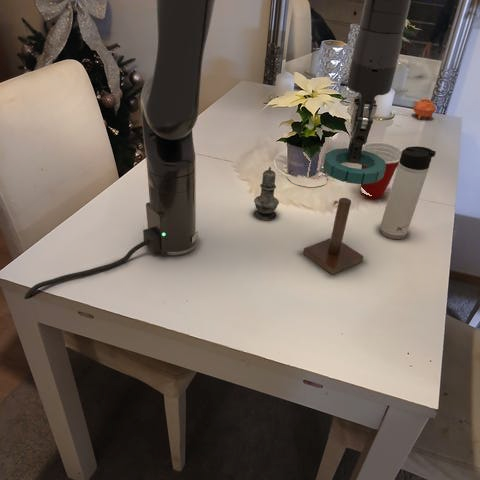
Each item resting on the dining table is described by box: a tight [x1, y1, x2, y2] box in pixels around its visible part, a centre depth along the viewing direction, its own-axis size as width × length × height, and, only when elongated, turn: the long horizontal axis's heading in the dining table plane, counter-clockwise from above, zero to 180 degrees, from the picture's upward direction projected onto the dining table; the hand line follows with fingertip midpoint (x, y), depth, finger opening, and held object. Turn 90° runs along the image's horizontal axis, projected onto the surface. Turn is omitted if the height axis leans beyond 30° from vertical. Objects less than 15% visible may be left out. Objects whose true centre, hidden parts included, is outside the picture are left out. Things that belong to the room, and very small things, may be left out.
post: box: [302, 197, 364, 276], centre depth 98 cm, size 9×9×14 cm
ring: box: [322, 147, 386, 185], centre depth 88 cm, size 11×11×2 cm
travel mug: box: [379, 146, 437, 240], centre depth 105 cm, size 6×7×20 cm
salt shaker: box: [253, 166, 280, 221], centre depth 111 cm, size 6×6×12 cm
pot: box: [412, 98, 437, 120], centre depth 173 cm, size 8×8×7 cm
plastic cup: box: [360, 141, 403, 200], centre depth 122 cm, size 11×11×12 cm
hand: (352, 159), depth 92 cm, fingers closed on ring, 2 cm apart
